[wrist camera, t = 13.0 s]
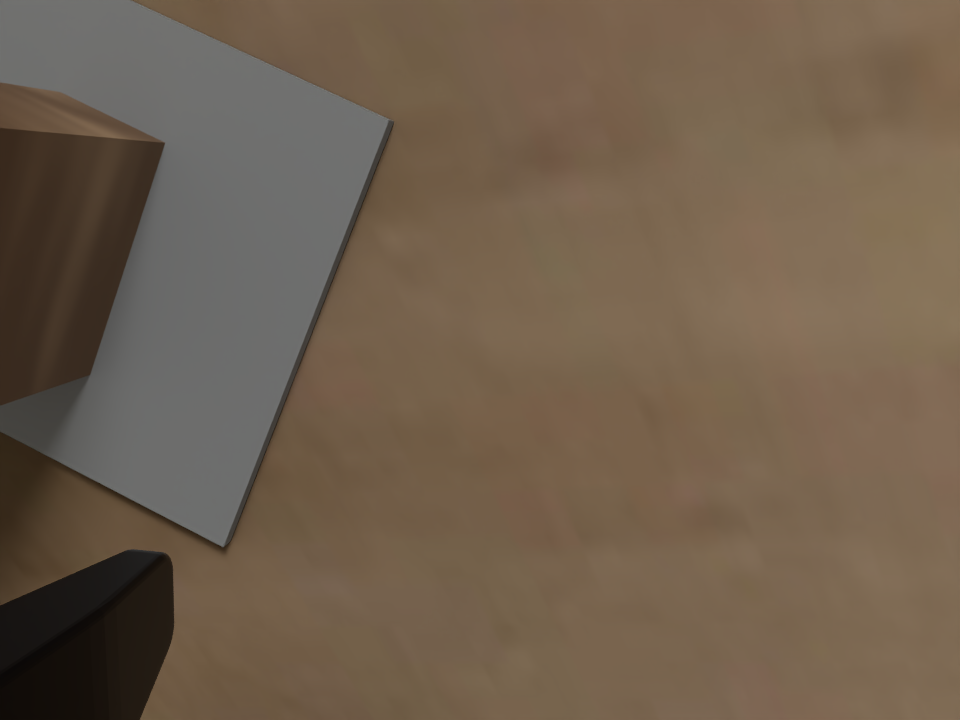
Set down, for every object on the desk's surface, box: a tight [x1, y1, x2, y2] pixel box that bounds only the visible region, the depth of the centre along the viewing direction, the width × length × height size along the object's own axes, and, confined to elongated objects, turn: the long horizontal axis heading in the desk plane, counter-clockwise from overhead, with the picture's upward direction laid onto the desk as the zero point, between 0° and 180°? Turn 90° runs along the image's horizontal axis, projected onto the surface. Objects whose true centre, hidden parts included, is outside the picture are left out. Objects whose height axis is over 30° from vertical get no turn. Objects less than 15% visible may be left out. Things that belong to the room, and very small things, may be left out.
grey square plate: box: [0, 0, 394, 547], centre depth 21 cm, size 12×12×1 cm
